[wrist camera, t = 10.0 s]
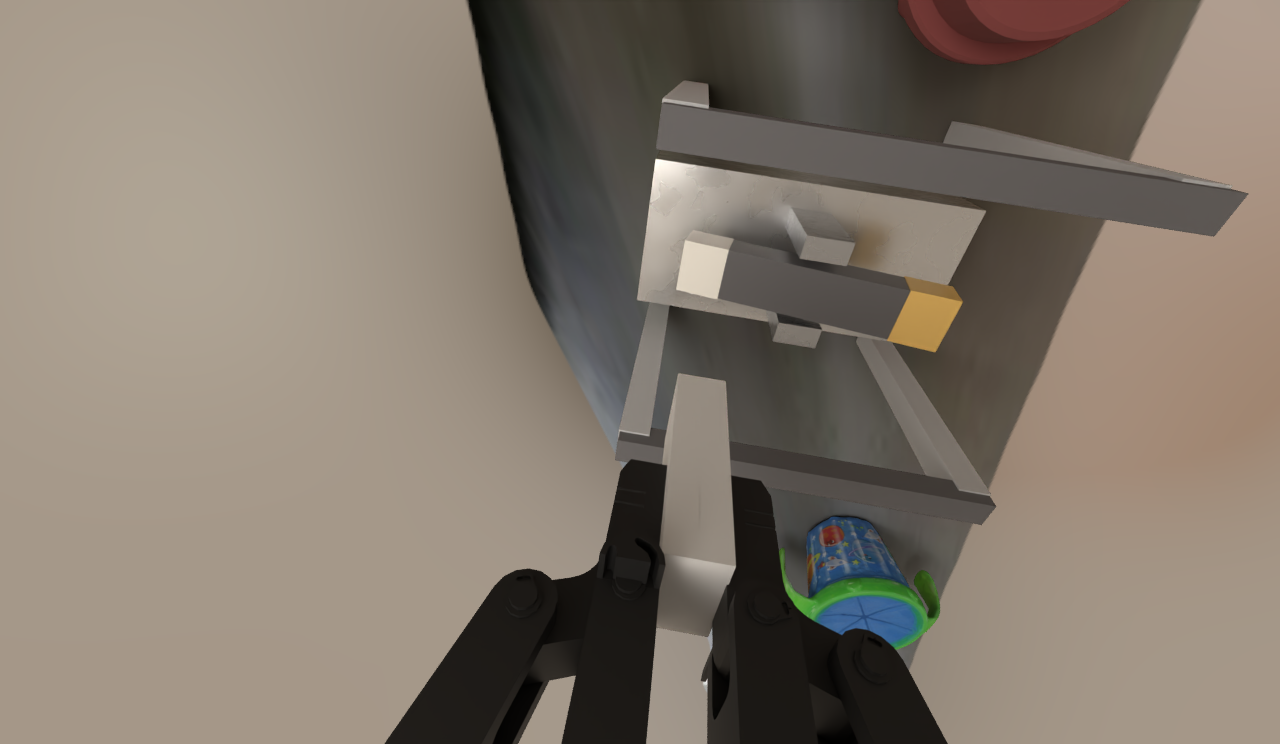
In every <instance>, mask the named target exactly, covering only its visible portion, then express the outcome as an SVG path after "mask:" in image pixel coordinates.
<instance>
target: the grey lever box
mask: <svg viewBox="0 0 1280 744" xmlns="http://www.w3.org/2000/svg"><path fill="white" fill-rule="evenodd" d="M985 213H986V211H985V210H984V209H982V208H980V207H978V206H976V205H974V204H972V203H971V202H969V201H967V200H965V199H963V198H961V197H959V196H952V195H946V194H940V193H933V192H927V191H921V190H914V189H908V188H901V187H895V186H889V185H882V184H876V183H870V182H863V181H857V180H850V179H844V178H838V177H831V176H825V175H819V174H812V173H806V172H799V171H793V170H787V169H780V168H774V167H768V166H761V165H755V164H748V163H742V162H736V161H729V160H723V159H716V158H710V157H704V156H697V155H691V154H685V153H678V152H672V151H665V150H660V152H659V154H658V156H657V158H656V161H655V169H654V176H653V184H652V191H651V199H650V206H649V214H648V221H647V229H646V236H645V244H644V251H643V259H642V266H641V274H640V281H639V289H638V296H637V300H640V301H646V302H652V303H658V304H664V305H670V306H676V307H682V308H688V309H694V310H700V311H706V312H712V313H718V314H724V315H730V316H736V317H742V318H748V319H754V320H760V321H766V322H768V323H769V327H770V332H771V336H772V340H773V341H774V342H780V343H786V344H792V345H798V346H804V347H810V348H815V347H816V345H817V342H818V339H819V337H820V334H821V332H822V331H827V332H833V333H839V334H845V335H851V336H857V337H863V338H869V339H875V340H881V341H887V339H883V338H879V337H875V336H871V335H867V334H862V333H858V332H854V331H850V330H846V329H842V328H838V327H834V326H829V325H825V324H821V323H817V322H813V321H809V320H805V319H800V318H796V317H792V316H788V315H784V314H780V313H776V312H771V311H767V310H763V309H759V308H755V307H751V306H747V305H743V304H738V303H734V302H730V301H726V300H722V299H713V298H709V297H704V296H700V295H696V294H692V293H688V292H684V291H680V290H676V287H677V282H678V276H679V271H680V265H681V260H682V254H683V248H684V243H685V240H686V238H687V237H688V236H689V234H690V233H691V232H692V231H693V230H695V231H700V232H705V233H709V234H714V235H718V236H723V237H728V238H732V239H734V240H736V241H741V242H745V243H750V244H754V245H759V246H764V247H768V248H773V249H777V250H782V251H787V252H791V253H796V254H798V256H799V258H800V259H805V260H811V261H818V262H824V263H830V264H836V265H842V266H847V265H851V266H855V267H860V268H865V269H869V270H874V271H878V272H883V273H887V274H892V275H897V276H901V277H904V276H907V277H912V278H916V279H921V280H925V281H930V282H935V283H939V284H944V285H948V284H949V282H950V280H951V278H952V276H953V274H954V272H955V270H956V268H957V266H958V264H959V262H960V261H961V259H962V257H963V255H964V253H965V251H966V249H967V247H968V245H969V243H970V241H971V239H972V238H973V236H974V234H975V232H976V230H977V228H978V226H979V224H980V222H981V220H982V218H983V216H984V214H985ZM887 342H890V341H887ZM893 343H894V342H893Z"/></svg>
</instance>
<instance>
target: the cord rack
mask: <svg viewBox="0 0 1280 744" xmlns="http://www.w3.org/2000/svg"><path fill="white" fill-rule="evenodd" d="M656 149H659V150H665V151H672V152H678V153H685V154H691V155H697V156H704V157H710V158H716V159H723V160H729V161H736V162H742V163H748V164H755V165H761V166H768V167H774V168H780V169H787V170H793V171H799V172H806V173H812V174H819V175H825V176H831V177H838V178H844V179H850V180H857V181H863V182H870V183H876V184H882V185H889V186H895V187H901V188H908V189H914V190H921V191H927V192H933V193H940V194H946V195H952V196H959V197H965V198H972V199H978V200H984V201H991V202H997V203H1003V204H1010V205H1016V206H1023V207H1029V208H1035V209H1042V210H1048V211H1055V212H1061V213H1067V214H1074V215H1080V216H1086V217H1093V218H1099V219H1106V220H1112V221H1118V222H1125V223H1131V224H1137V225H1144V226H1151V227H1157V228H1163V229H1169V230H1176V231H1182V232H1189V233H1196V234H1201V235H1208V236H1215V235H1216V233H1217V232H1218V231H1219V230H1220V229H1221V227H1222V226H1223V225H1224V224H1225V222H1226V221H1227V220H1228V219H1229V217H1230V216H1231V215H1232V214H1233V212H1234V211H1235V210H1236V209H1237V208H1238V206H1239V205H1240V204H1241V202H1242V201H1243V200H1244V199H1245V197H1246V196H1247V195H1248V193H1244V192H1240V191H1236V190H1232V189H1231V188H1232V185H1227V184H1223V183H1219V182H1215V181H1211V180H1206V179H1202V178H1198V177H1194V176H1190V175H1185V174H1181V173H1177V172H1173V171H1169V170H1164V169H1160V168H1156V167H1152V166H1147V165H1143V164H1139V163H1135V162H1131V161H1127V160H1122V159H1118V158H1114V157H1110V156H1106V155H1101V154H1097V153H1093V152H1089V151H1085V150H1080V149H1076V148H1072V147H1068V146H1064V145H1059V144H1055V143H1051V142H1047V141H1043V140H1038V139H1034V138H1030V137H1026V136H1022V135H1017V134H1013V133H1009V132H1005V131H1001V130H996V129H992V128H988V127H984V126H980V125H974V124H968V123H961V122H955V121H952V123H951V125H950V127H949V129H948V132H947V134H946V136H945V139H944V141H943V143H939V142H933V141H926V140H920V139H913V138H907V137H900V136H894V135H887V134H881V133H874V132H868V131H861V130H855V129H848V128H842V127H835V126H829V125H822V124H816V123H809V122H803V121H796V120H790V119H783V118H777V117H770V116H764V115H757V114H751V113H744V112H737V111H731V110H724V109H718V108H711V107H709V90H708V84H705V83H698V82H692V81H685V80H684V81H683V82H682V83H680V84H679V85H678V86H677V87H676V88H674V89H673V90H672V91H671V92H670V93H668V94H667V95H666V96H665V97H664V98H663V100H662V108H661V115H660V123H659V130H658V138H657V146H656ZM669 306H670V305H664V304H658V303H652V302H650V303H649V307H648V311H647V315H646V319H645V324H644V328H643V332H642V336H641V340H640V344H639V349H638V353H637V357H636V361H635V365H634V369H633V374H632V378H631V382H630V386H629V390H628V394H627V399H626V403H625V407H624V411H623V415H622V419H621V424H620V428H619V434H618V441H617V449H616V457H615V460H618V461H623V462H629V461H630V460H631V459H635V460H640V461H646V462H652V463H657V464H662V462H663V453H664V444H665V436H666V432H667V430H661V429H655V428H651V423H652V416H653V410H654V403H655V397H656V390H657V384H658V377H659V371H660V364H661V358H662V352H663V345H664V339H665V332H666V326H667V319H668V313H669ZM856 343H857V345H858V347H859V349H860V351H861V353H862V355H863V357H864V358H865V360H866V362H867V364H868V366H869V368H870V370H871V372H872V374H873V376H874V377H875V379H876V381H877V383H878V385H879V387H880V389H881V391H882V393H883V394H884V396H885V398H886V400H887V402H888V404H889V406H890V408H891V410H892V412H893V413H894V415H895V417H896V419H897V421H898V423H899V425H900V427H901V429H902V431H903V432H904V434H905V436H906V438H907V440H908V442H909V444H910V446H911V448H912V449H913V451H914V453H915V455H916V457H917V459H918V461H919V463H920V465H921V467H922V468H923V470H924V472H925V474H926V476H925V475H919V474H913V473H908V472H902V471H896V470H891V469H885V468H879V467H873V466H868V465H862V464H856V463H850V462H845V461H839V460H833V459H827V458H822V457H816V456H810V455H805V454H799V453H793V452H787V451H782V450H776V449H770V448H764V447H759V446H753V445H747V444H741V443H736V442H730V441H729V449H730V467H731V475H732V476H738V477H743V478H749V479H755V480H760V481H762V483H763V484H764V486H765V487H770V488H776V489H782V490H787V491H793V492H798V493H804V494H810V495H815V496H821V497H827V498H832V499H838V500H844V501H849V502H855V503H861V504H866V505H872V506H878V507H883V508H889V509H895V510H900V511H906V512H912V513H917V514H923V515H929V516H934V517H940V518H946V519H951V520H957V521H962V522H968V523H974V524H979V525H982V524H983V522H984V521H985V520H986V519H987V517H988V516H989V515H990V513H992V511H993V510H994V509H995V508H996V505H995V504H994V503H993V501H992V499H991V498H990V496H991V493H990V492H989V490H988V489H987V487H986V486H985V484H984V483H983V481H982V480H981V478H980V476H979V475H978V473H977V472H976V470H975V469H974V467H973V466H972V464H971V463H970V461H969V460H968V458H967V457H966V455H965V454H964V452H963V450H962V449H961V447H960V446H959V444H958V443H957V441H956V440H955V438H954V437H953V435H952V434H951V432H950V431H949V429H948V428H947V426H946V424H945V423H944V421H943V420H942V418H941V417H940V415H939V414H938V412H937V411H936V409H935V408H934V406H933V405H932V403H931V402H930V400H929V399H928V397H927V395H926V394H925V392H924V391H923V389H922V388H921V386H920V385H919V383H918V382H917V380H916V379H915V377H914V376H913V374H912V373H911V371H910V369H909V368H908V366H907V365H906V363H905V362H904V360H903V359H902V357H901V356H900V354H899V353H898V351H897V350H896V348H895V347H894V345H893V343H892V342H887V341H881V340H875V339H869V338H863V337H858V338H857V340H856Z"/></svg>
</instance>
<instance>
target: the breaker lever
mask: <svg viewBox="0 0 1280 744" xmlns="http://www.w3.org/2000/svg"><path fill="white" fill-rule="evenodd" d="M676 290H680V291H684V292H688V293H692V294H696V295H700V296H704V297H709V298H713V299H722V300H726V301H730V302H734V303H738V304H743V305H747V306H751V307H755V308H759V309H763V310H767V311H771V312H776V313H780V314H784V315H788V316H792V317H796V318H800V319H805V320H809V321H813V322H817V323H821V324H825V325H829V326H834V327H838V328H842V329H846V330H850V331H854V332H858V333H862V334H867V335H871V336H875V337H879V338H883V339H887V341H890V342H894V343H898V344H903V345H907V346H911V347H915V348H919V349H923V350H927V351H931V352H936V350H937V348H938V347H939V345H940V343H941V341H942V339H943V337H944V336H945V334H946V332H947V330H948V328H949V327H950V325H951V323H952V321H953V319H954V318H955V316H956V314H957V312H958V310H959V308H960V307H961V305H962V303H963V301H962V299H961V298H960V296H959V295H958V293H957V292H956V290H955V289H954V287H953V286H948V285H944V284H939V283H935V282H930V281H925V280H921V279H916V278H912V277H907V276H904V277H901V276H897V275H892V274H887V273H883V272H878V271H874V270H869V269H865V268H860V267H855V266H851V265H847V266H842V265H836V264H830V263H824V262H818V261H811V260H805V259H800V258H799V256H798V254H796V253H791V252H787V251H782V250H777V249H773V248H768V247H764V246H759V245H754V244H750V243H745V242H741V241H736V240H734V239H732V238H728V237H723V236H718V235H714V234H709V233H705V232H700V231H695V230H693V231H692V232H691V233H690V234H689V236H688V237H687V238H686V240H685V243H684V248H683V254H682V260H681V265H680V271H679V276H678V282H677V287H676Z"/></svg>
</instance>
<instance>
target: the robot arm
mask: <svg viewBox="0 0 1280 744" xmlns="http://www.w3.org/2000/svg"><path fill="white" fill-rule="evenodd" d="M656 627H657V628H662V629H667V630H673V631H678V632H683V633H689V634H694V635H699V636H705V637H708V636H709V634H710V631H711V629H712V635H713V647H712V650H711V652H710V655H709V657H708V659H707V662H706V664H705V667H704V669H703V673H702V678H701V681H704V682H706V680H707V678H708V716H707V717H708V720H707V721H708V722H707V727H708V729H707V732H708V733H707V735H708V736H707V744H948V743H947V742H946V740H945V738H944V736H943V734H942V732H941V730H940V728H939V727H938V725H937V723H936V721H935V719H934V717H933V716H932V713H931V712H930V710H929V708H928V706H927V704H926V702H925V700H924V699H923V697H922V695H921V693H920V691H919V689H918V687H917V685H916V684H915V682H914V680H913V678H912V676H911V674H910V672H909V670H908V669H907V667H906V665H905V663H904V661H903V659H902V658H901V657H900V655H899V654H898V652H897V651H896V650H895V648H894V647H893V646H892V645H891V644H890V643H888V642H887V641H886V640H885V639H884V638H883V637H881V636H879V635H877V634H875V633H873V632H871V631H869V630H866V629H859V628H854V629H851V630H848V631H845V632H844V633H843V635H841V634H839V633H837V632H835V631H833V630H831V629H829V628H827V627H825V626H823V625H821V624H819V623H817V622H815V621H814V620H812V619H810V618H809V617H807V616H806V615H804V614H803V613H802V612H801V611H800V610H799V609H798V608H797V607H796V606H795V605H794V602H793V601H792V600H791V598H790V597H789V596H788V594H787V592H786V590H785V586H784V582H783V576H782V569H781V562H780V555H779V549H778V542H777V535H776V531H775V521H774V517H773V507H772V500H771V496H770V494H769V493H768V491H767V489H766V488H765V486H764V484H763V483H762V481H760V480H755V479H749V478H743V477H738V476H732V475H731V467H730V449H729V431H728V413H727V395H726V381H722V380H716V379H710V378H704V377H698V376H692V375H686V374H680V373H678V378H677V383H676V387H675V392H674V397H673V402H672V407H671V412H670V417H669V422H668V427H667V432H666V436H665V444H664V453H663V462H662V464H657V463H652V462H646V461H640V460H635V459H631V460H630V461H629V462H628V463H627V464H626V465H625V467H624V468H623V469H622V470H621V472H620V477H619V481H618V486H617V491H616V495H615V500H614V505H613V510H612V514H611V519H610V524H609V528H608V533H607V538H606V542H605V543H604V545H603V547H602V549H601V552H600V555H599V561H598V563H597V564H596V565H595V566H594V567H593V568H592V569H591V570H589V571H588V572H586V573H584V574H582V575H579V576H575V577H571V578H564V579H557V580H551V578H550V577H548V576H547V575H546V574H544V573H543V572H541V571H537V570H532V569H522V570H516V571H514V572H512V573H510V574H508V575H506V576H504V577H503V578H502V579H501V580H500V581H499V582H498V583H497V584H496V585H495V586H494V588H493V589H492V590H491V592H490V593H489V595H488V596H487V597H486V599H485V600H484V602H483V603H482V605H481V606H480V607H479V609H478V610H477V612H476V613H475V615H474V616H473V617H472V619H471V621H470V622H469V623H468V625H467V626H466V628H465V629H464V631H463V632H462V633H461V635H460V636H459V638H458V639H457V640H456V642H455V643H454V645H453V646H452V648H451V649H450V651H449V652H448V653H447V655H446V656H445V658H444V659H443V661H442V662H441V664H440V665H439V666H438V668H437V669H436V671H435V672H434V673H433V675H432V676H431V678H430V679H429V681H428V682H427V684H426V685H425V687H424V688H423V689H422V691H421V692H420V694H419V695H418V697H417V698H416V699H415V701H414V702H413V704H412V705H411V706H410V708H409V709H408V711H407V712H406V714H405V715H404V717H403V718H402V719H401V721H400V722H399V724H398V725H397V727H396V728H395V730H394V731H393V732H392V734H391V735H390V737H389V738H388V739H387V741H386V743H385V744H518V743H519V741H520V738H521V737H522V734H523V732H524V730H525V728H526V726H527V724H528V722H529V720H530V718H531V716H532V714H533V712H534V710H535V708H536V706H537V704H538V702H539V700H540V698H541V696H542V694H543V692H544V690H545V688H546V686H547V684H548V682H549V680H554V679H559V678H564V677H569V676H575V675H576V677H575V682H574V687H573V692H572V696H571V702H570V706H569V711H568V715H567V720H566V725H565V730H564V734H563V739H562V744H646V737H647V726H648V715H649V704H650V691H651V680H652V670H653V658H654V647H655V636H656Z"/></svg>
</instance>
